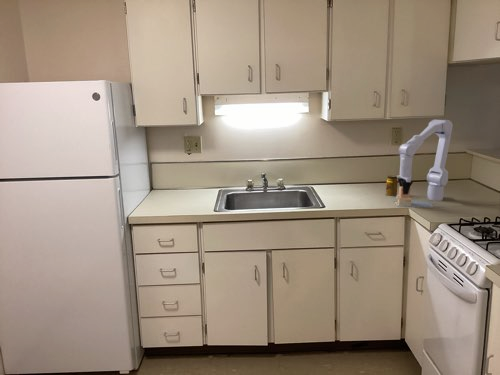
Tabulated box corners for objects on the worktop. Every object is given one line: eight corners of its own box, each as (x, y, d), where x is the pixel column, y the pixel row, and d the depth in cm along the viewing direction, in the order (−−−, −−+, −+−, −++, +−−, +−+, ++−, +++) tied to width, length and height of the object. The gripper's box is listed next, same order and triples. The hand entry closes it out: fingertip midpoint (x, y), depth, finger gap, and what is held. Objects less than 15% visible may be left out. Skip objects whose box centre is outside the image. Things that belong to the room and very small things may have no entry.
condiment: (382, 196, 244) (383, 175, 241) (393, 194, 248) (394, 174, 245) (391, 198, 238) (393, 177, 235) (402, 197, 241) (404, 176, 239)
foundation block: (396, 202, 225) (396, 195, 224) (407, 202, 225) (408, 195, 224) (398, 205, 219) (399, 197, 219) (410, 205, 219) (411, 198, 218)
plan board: (392, 202, 228) (393, 200, 228) (427, 203, 226) (427, 201, 226) (398, 208, 217) (398, 206, 217) (434, 209, 215) (434, 207, 215)
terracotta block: (398, 195, 224) (399, 186, 222) (407, 195, 223) (408, 186, 222) (400, 197, 219) (401, 188, 218) (409, 197, 219) (410, 188, 218)
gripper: (394, 165, 225) (393, 189, 228) (401, 169, 211) (399, 196, 214) (408, 165, 225) (406, 190, 227) (415, 169, 210) (413, 196, 213)
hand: (404, 193), depth 221 cm, fingers open, 5 cm apart
